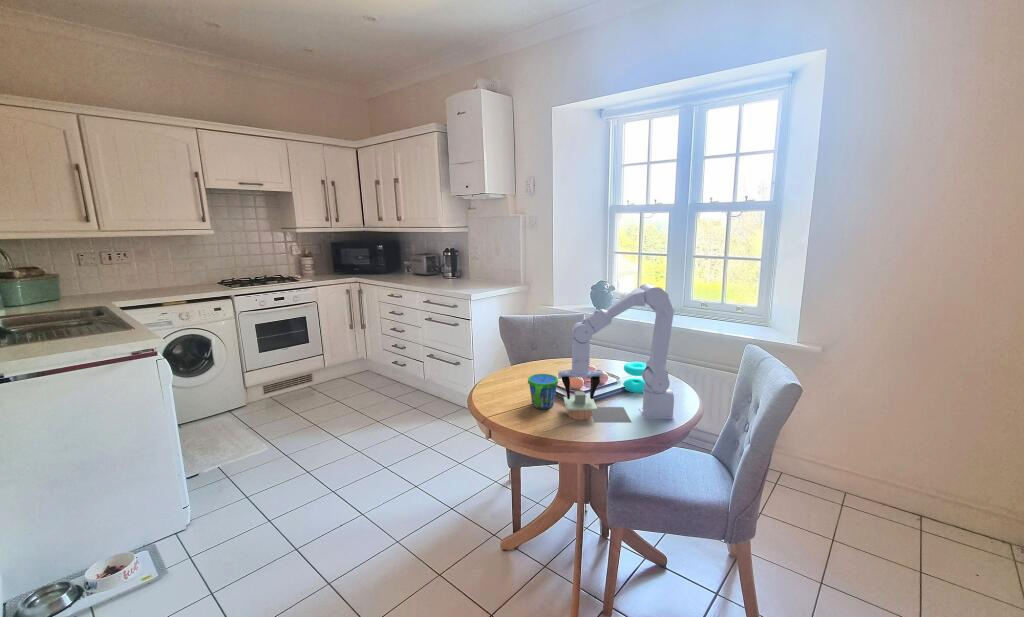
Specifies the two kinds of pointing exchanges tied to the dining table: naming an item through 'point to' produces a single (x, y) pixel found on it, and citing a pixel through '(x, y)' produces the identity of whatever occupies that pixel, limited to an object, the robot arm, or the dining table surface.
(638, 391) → the donuts
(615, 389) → the dining table surface
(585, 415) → the bowl
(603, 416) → the mat
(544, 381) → the snack cup
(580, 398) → the lid
